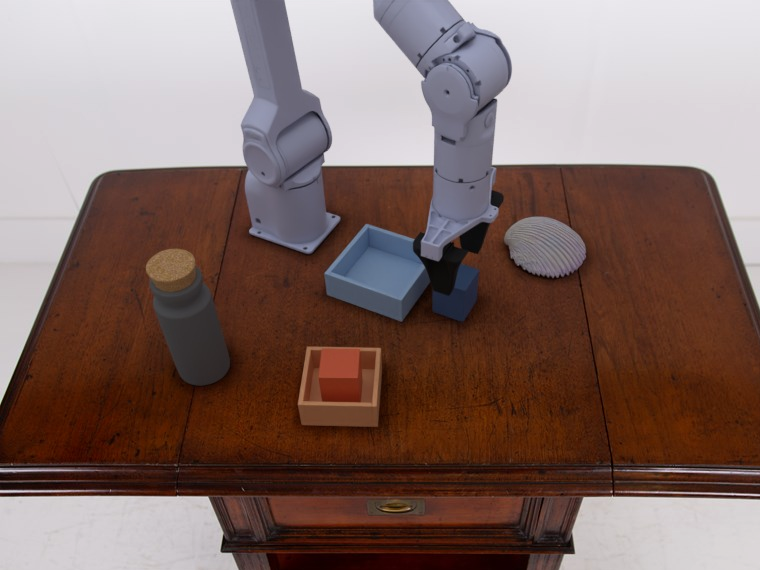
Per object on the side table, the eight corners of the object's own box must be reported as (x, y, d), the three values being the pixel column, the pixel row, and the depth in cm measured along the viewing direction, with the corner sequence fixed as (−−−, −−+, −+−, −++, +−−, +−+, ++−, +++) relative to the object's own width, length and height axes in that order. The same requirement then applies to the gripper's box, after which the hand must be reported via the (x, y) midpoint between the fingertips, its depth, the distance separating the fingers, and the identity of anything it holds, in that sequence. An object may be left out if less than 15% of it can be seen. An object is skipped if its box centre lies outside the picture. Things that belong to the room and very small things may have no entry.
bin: (326, 295, 91) (324, 273, 88) (367, 245, 97) (366, 223, 94) (401, 322, 88) (401, 300, 85) (439, 269, 94) (440, 247, 91)
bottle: (207, 394, 82) (172, 293, 70) (166, 372, 84) (126, 271, 72) (241, 359, 85) (213, 257, 73) (202, 339, 87) (168, 236, 75)
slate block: (432, 311, 89) (432, 280, 85) (446, 290, 91) (447, 259, 87) (462, 322, 88) (465, 291, 84) (476, 301, 90) (479, 269, 86)
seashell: (506, 200, 97) (586, 194, 94) (511, 235, 101) (588, 230, 98) (496, 250, 91) (582, 246, 88) (502, 285, 95) (584, 282, 92)
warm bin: (301, 425, 79) (297, 404, 76) (310, 367, 84) (306, 346, 81) (378, 427, 79) (376, 406, 76) (382, 369, 84) (381, 347, 81)
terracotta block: (322, 408, 80) (318, 377, 76) (326, 379, 82) (321, 348, 78) (360, 408, 80) (357, 377, 76) (362, 379, 82) (360, 348, 78)
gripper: (469, 218, 69) (462, 323, 80) (527, 138, 77) (514, 242, 88) (401, 198, 71) (403, 302, 82) (464, 121, 79) (458, 225, 90)
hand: (456, 270), depth 85 cm, fingers open, 7 cm apart
